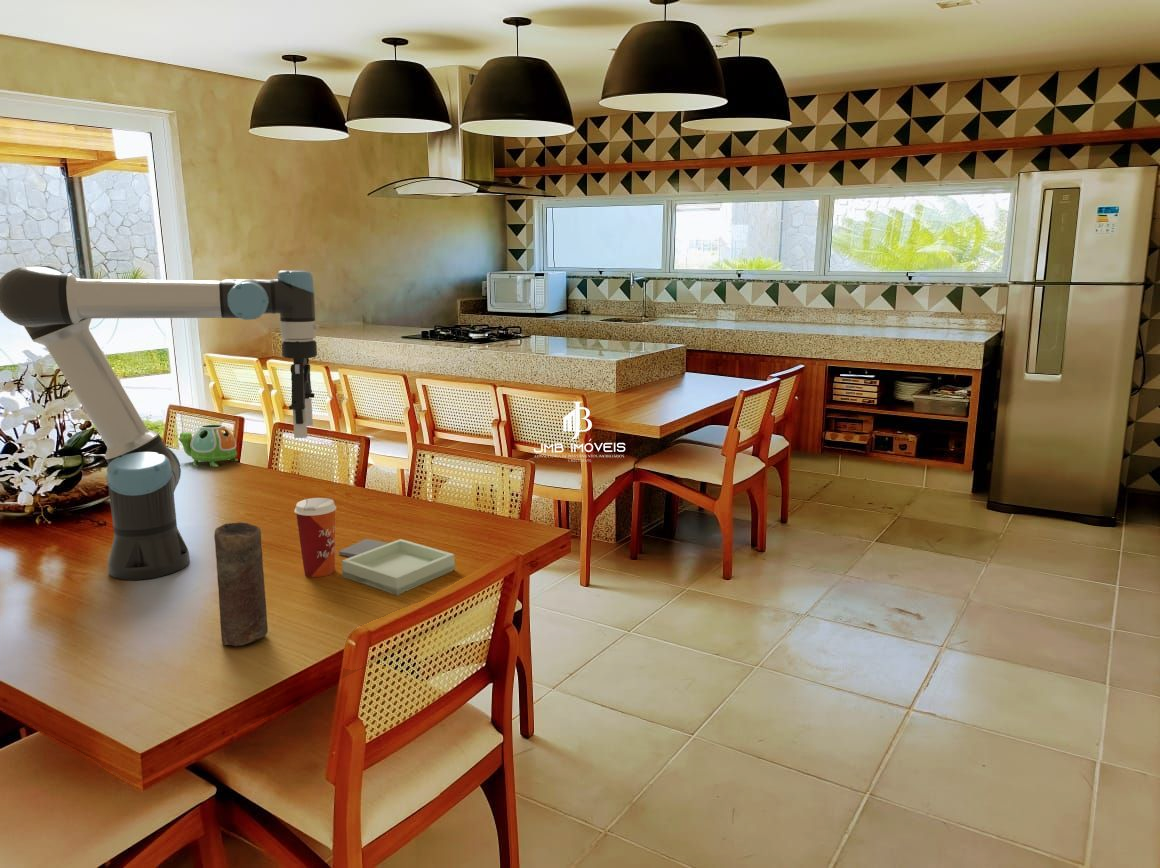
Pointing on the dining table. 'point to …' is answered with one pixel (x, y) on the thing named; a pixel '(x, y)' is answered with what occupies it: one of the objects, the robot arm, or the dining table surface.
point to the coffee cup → (317, 535)
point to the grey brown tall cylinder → (240, 583)
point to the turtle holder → (210, 444)
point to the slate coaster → (361, 547)
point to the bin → (398, 566)
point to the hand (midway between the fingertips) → (303, 431)
